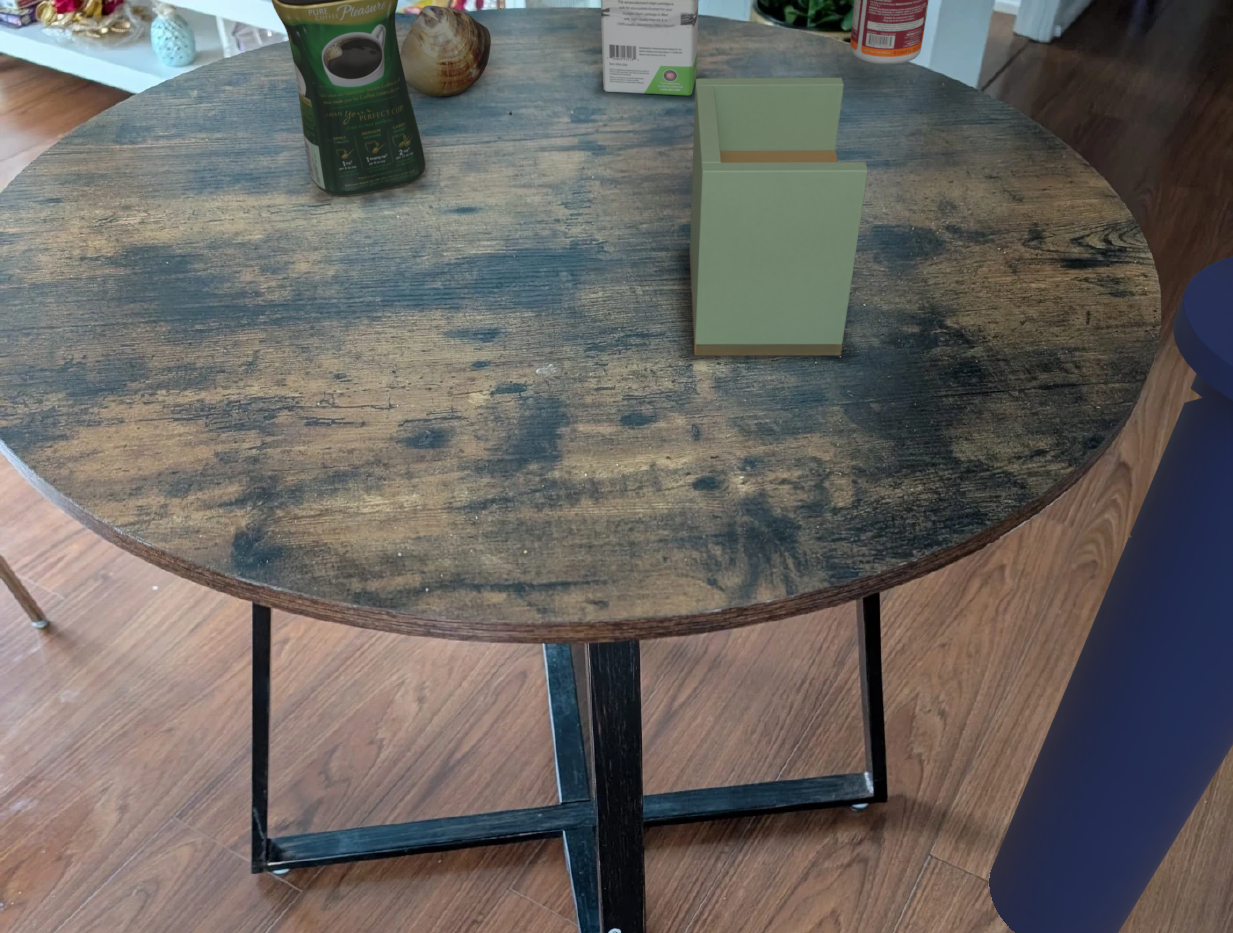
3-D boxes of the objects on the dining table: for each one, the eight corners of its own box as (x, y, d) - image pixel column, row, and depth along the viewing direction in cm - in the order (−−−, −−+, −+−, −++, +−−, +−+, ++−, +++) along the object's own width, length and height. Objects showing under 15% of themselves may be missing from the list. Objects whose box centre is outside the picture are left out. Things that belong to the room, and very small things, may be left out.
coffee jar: (411, 147, 102) (376, -93, 89) (435, 185, 97) (402, -63, 84) (302, 167, 100) (249, -77, 86) (321, 207, 95) (268, -45, 81)
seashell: (421, 117, 107) (409, 24, 101) (391, 97, 110) (377, 6, 104) (508, 91, 110) (501, 0, 105) (476, 72, 114) (467, -17, 108)
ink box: (697, 76, 112) (702, -60, 104) (691, 97, 109) (695, -42, 100) (610, 71, 113) (608, -64, 105) (601, 92, 110) (598, -46, 101)
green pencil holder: (820, 252, 89) (841, 77, 79) (840, 355, 79) (868, 170, 70) (689, 252, 89) (695, 77, 80) (694, 355, 79) (702, 170, 70)
